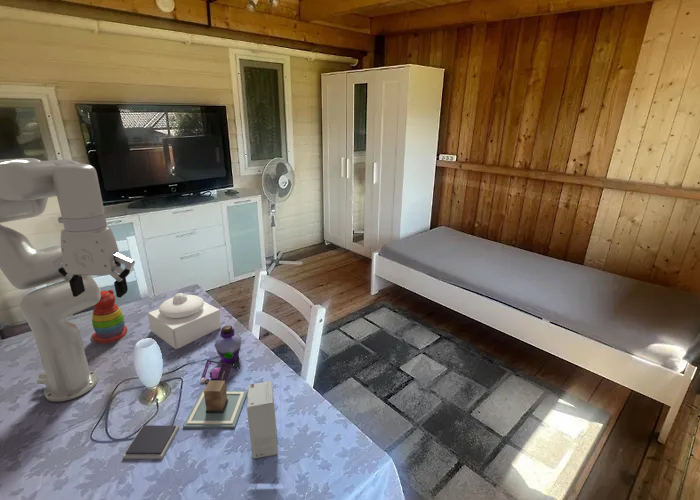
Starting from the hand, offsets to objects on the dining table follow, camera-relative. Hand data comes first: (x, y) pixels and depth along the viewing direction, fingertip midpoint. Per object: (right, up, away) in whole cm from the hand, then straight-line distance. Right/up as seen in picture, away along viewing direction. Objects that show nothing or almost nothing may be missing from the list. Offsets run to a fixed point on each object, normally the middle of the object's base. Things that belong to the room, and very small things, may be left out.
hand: (100, 294), depth 85 cm
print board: (+22, -33, +15) cm, 42 cm away
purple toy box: (+22, -28, +24) cm, 43 cm away
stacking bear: (-28, -21, +47) cm, 58 cm away
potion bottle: (+18, -26, +35) cm, 47 cm away
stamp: (+22, -32, +15) cm, 41 cm away
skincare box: (+37, -37, +4) cm, 52 cm away
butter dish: (-3, -20, +51) cm, 55 cm away
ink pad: (+10, -36, +4) cm, 38 cm away
